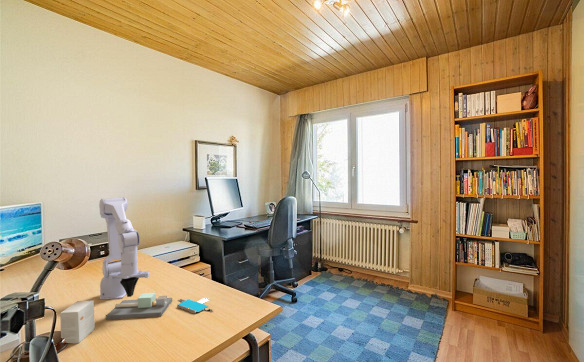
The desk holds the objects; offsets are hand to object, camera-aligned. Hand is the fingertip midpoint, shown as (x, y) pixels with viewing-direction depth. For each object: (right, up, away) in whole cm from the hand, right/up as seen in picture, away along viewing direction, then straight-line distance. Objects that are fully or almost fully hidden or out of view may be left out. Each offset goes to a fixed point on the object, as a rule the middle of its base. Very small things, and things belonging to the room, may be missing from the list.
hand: (130, 295), depth 106 cm
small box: (-7, -7, -17) cm, 19 cm away
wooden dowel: (+4, -5, +1) cm, 6 cm away
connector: (+12, -4, +1) cm, 13 cm away
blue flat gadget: (+25, -6, +4) cm, 26 cm away
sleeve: (+6, -4, +1) cm, 8 cm away
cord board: (+4, -6, +1) cm, 7 cm away
